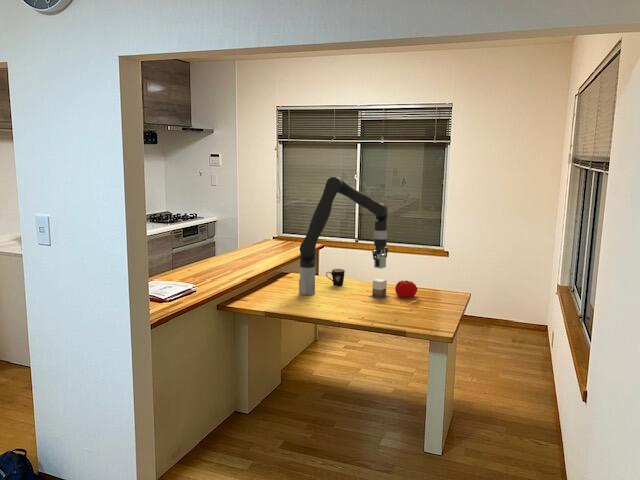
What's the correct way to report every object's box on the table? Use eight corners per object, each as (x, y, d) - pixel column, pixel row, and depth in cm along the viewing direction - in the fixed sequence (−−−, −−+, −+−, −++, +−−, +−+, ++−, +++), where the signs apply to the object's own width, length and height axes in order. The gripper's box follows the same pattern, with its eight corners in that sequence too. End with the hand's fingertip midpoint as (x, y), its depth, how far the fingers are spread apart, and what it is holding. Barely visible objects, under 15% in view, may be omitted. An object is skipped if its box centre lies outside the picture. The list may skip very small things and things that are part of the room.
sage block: (381, 268, 315) (381, 258, 314) (374, 267, 318) (374, 257, 317) (385, 267, 319) (386, 257, 318) (378, 266, 322) (378, 256, 321)
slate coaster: (381, 300, 314) (381, 299, 314) (367, 297, 321) (367, 296, 321) (390, 297, 322) (390, 296, 322) (376, 294, 328) (376, 293, 328)
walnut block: (380, 298, 317) (380, 290, 316) (372, 296, 321) (372, 288, 320) (386, 296, 322) (386, 288, 321) (377, 294, 325) (378, 286, 325)
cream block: (380, 290, 316) (381, 281, 315) (372, 288, 320) (372, 280, 319) (386, 288, 321) (386, 280, 320) (378, 286, 325) (378, 278, 324)
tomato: (391, 298, 320) (392, 281, 318) (398, 293, 331) (399, 277, 329) (413, 301, 314) (413, 283, 312) (419, 296, 325) (420, 279, 323)
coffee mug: (347, 284, 352) (347, 269, 351) (340, 287, 345) (340, 272, 344) (331, 282, 358) (332, 267, 357) (325, 284, 351) (325, 270, 350)
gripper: (379, 239, 308) (378, 268, 310) (392, 236, 318) (391, 264, 321) (368, 238, 312) (368, 267, 315) (381, 235, 323) (381, 263, 326)
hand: (380, 265), depth 318 cm, fingers closed on sage block, 5 cm apart
